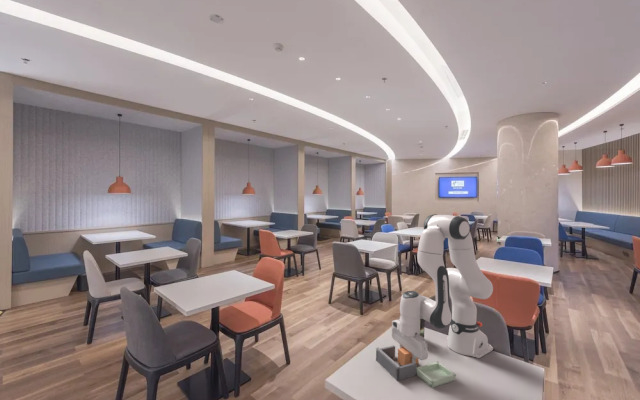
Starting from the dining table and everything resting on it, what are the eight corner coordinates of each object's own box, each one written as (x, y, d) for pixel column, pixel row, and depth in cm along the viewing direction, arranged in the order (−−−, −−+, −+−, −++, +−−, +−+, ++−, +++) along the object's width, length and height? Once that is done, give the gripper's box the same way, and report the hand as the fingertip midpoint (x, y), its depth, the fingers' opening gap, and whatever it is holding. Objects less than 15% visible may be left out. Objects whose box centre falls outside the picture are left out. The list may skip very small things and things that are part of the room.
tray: (437, 366, 124) (437, 361, 124) (455, 380, 115) (455, 374, 115) (414, 373, 119) (415, 367, 119) (431, 387, 110) (432, 381, 110)
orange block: (411, 358, 129) (412, 345, 129) (418, 363, 125) (419, 350, 125) (397, 361, 126) (398, 348, 126) (404, 367, 122) (404, 354, 122)
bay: (393, 355, 131) (394, 343, 131) (416, 375, 118) (416, 361, 117) (375, 360, 127) (376, 347, 127) (396, 380, 114) (397, 367, 113)
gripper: (432, 338, 117) (431, 370, 117) (400, 317, 135) (399, 345, 136) (420, 341, 114) (419, 374, 115) (389, 319, 133) (388, 348, 133)
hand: (408, 358), depth 125 cm, fingers closed on orange block, 4 cm apart
